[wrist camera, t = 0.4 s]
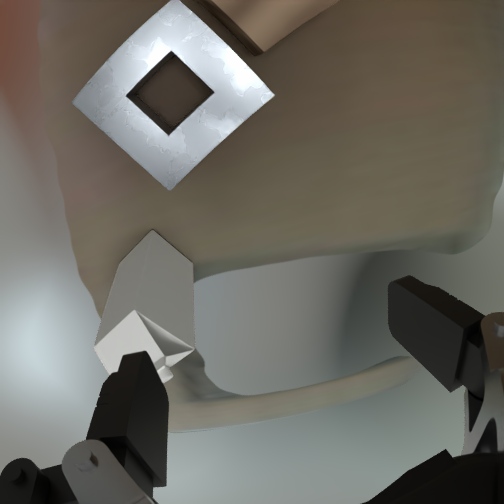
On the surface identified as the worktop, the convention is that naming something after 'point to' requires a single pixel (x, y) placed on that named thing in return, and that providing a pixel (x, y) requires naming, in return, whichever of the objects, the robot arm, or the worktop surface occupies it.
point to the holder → (150, 124)
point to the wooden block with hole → (264, 18)
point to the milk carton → (149, 308)
